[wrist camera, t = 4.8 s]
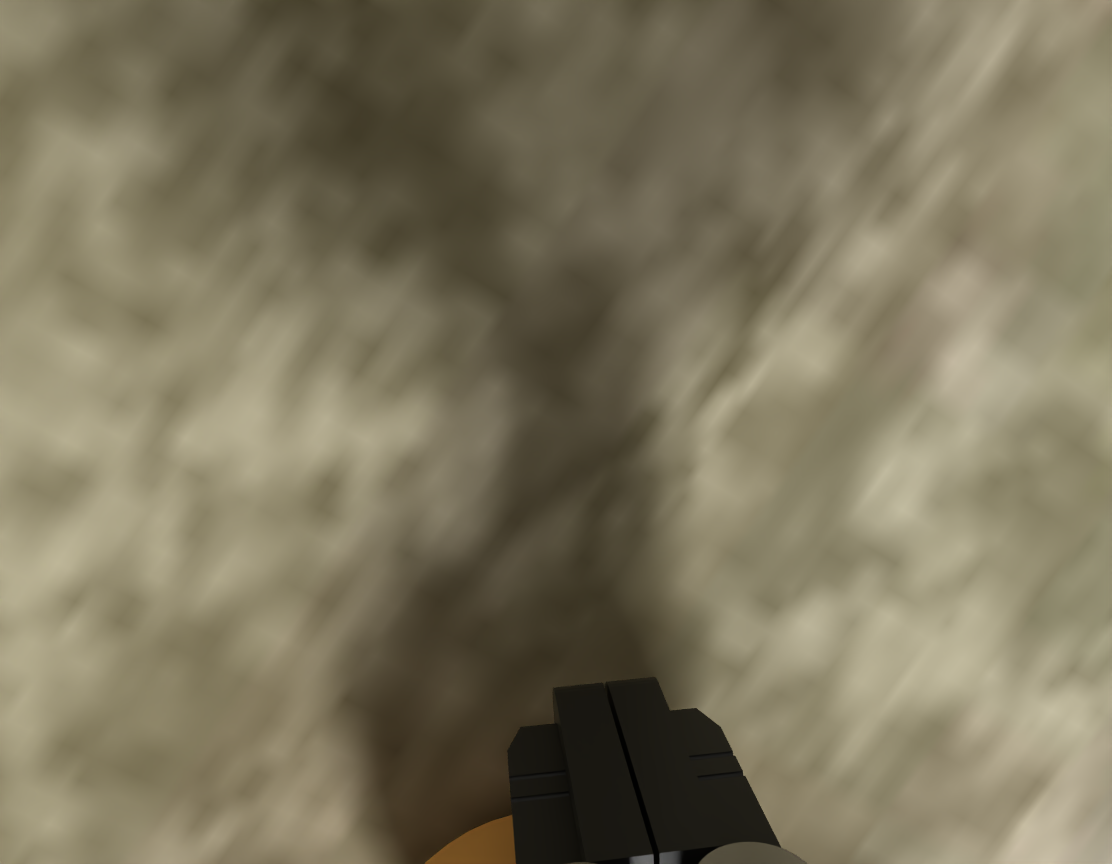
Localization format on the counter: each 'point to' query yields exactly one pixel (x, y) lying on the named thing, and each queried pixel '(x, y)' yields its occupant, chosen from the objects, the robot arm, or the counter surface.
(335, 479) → the counter surface
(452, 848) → the ball
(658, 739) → the robot arm
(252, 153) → the counter surface
